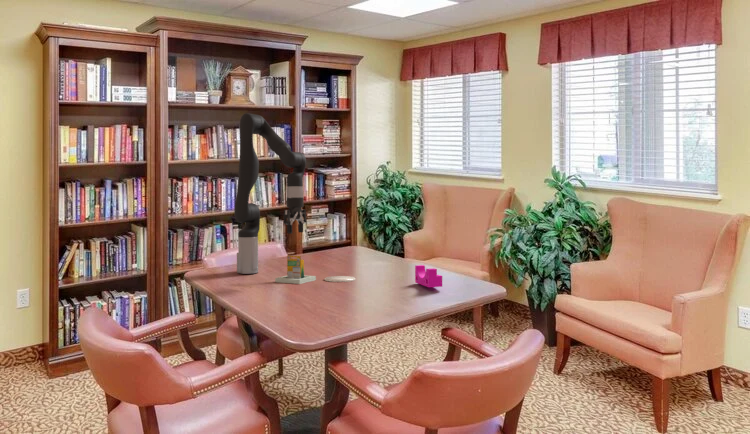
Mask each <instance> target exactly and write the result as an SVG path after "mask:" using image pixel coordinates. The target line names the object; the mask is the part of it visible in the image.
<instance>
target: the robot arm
mask: <svg viewBox="0 0 750 434" xmlns="http://www.w3.org/2000/svg"><path fill="white" fill-rule="evenodd" d="M253 135H259V136H260V137H261V138H263V139H265V141H266V143H267V146H268V148H269V149H270V150H271V151H272V152H273V153H275V154H276V156H278V157H279V158H278V159H280V161H281V163H282V164H283V165H284V166H285V167H287V168H291V169H292V168H293V169H292V172H291V173H288V174H287V176H286V208H288V209H284V210H283V224H284V225H286V227H287V228H286V232H287V234H293V223H294V222H295V220H296V221H297V223H298V226H297V228H298V231H297V232H298V233H303V232H304V224H305V223H307V210H306V209H305V208H304V206H305V205H304V203H305V201H304V198H305V197H304V196H305V195H304V175H305V169H306V166H307V158H306V154H304V153H302V152H297V151H292V148H291V147H292V146H290V144H289V143H288V142H286V141H285V140H284V139H283V138H281V136H280V135H279V134H278V133H277V132H275V130H274V129H273V128H272V126H270V124H269V123H268V122H267V120H266V119H265V118H264V117H263V116H262V115H259V114H255V113H247V112H245V113H243V114H242V115H241V116H240V119H239V163H238V179H237V189H236V199H235V204H234V211H233V213H234V219H235V221H236V222H238V223H240V224H243V223H244V226H243V227H242V228H241V229H240V230H238V233H237V236H238V239H237V242H238V243H237V245H238V246H237V247H238V250H237V251H238V252H237V253H236V273H237V274H242V275H243V274H244V275H245V274H257V273H259V232H260V225H261V224H260V223H261V211H260V208H259V206H258V205H257V204H256V203H253V202H250V201H249V200H250V194H251V192H252V189H253V188H254V185H255V184H256V182H257V180H258V177H259V172H260V170H259V169H260V167H259V166H260V161H259V158H258V156H257V153H256V150H255V148H254V145H253ZM303 208H304V209H303Z"/></svg>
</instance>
